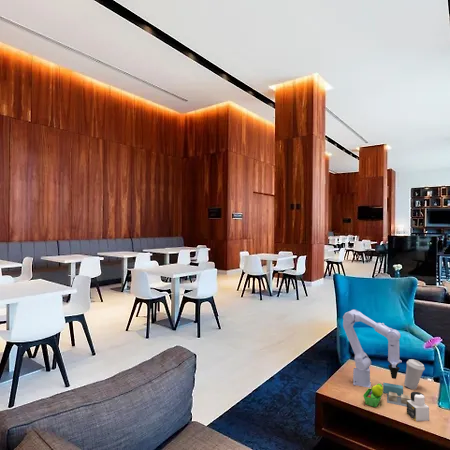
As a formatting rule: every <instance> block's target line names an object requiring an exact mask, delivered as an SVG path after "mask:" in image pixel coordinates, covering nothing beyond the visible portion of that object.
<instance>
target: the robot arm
mask: <svg viewBox="0 0 450 450" xmlns="http://www.w3.org/2000/svg"><path fill="white" fill-rule="evenodd" d="M342 319H343V321H342V327H343V330H344V331H345V335H346V337H347V339H348V341H349V343H350V346H351V348H352V351H353V354H354V362H355V365H354V366H355V367H353V372H352V376H353V378H352V380H353V381H352V383H353V386H359V387H364V388H367V389H368V388H370V389H371V385H372V382H371V368H370V367H371V365H372V361H371V359H370V358H369V356H368V354H367V353H366V352H365V351H364V349H363V348H362V345H361V342H360V340H359V338H358V335H357V333H356V331H355V328H354V325H355V323H358V322H361V323H363V324H365V325H367V326H370V327H372V328H373V329H374V331H375V332H377V333H378V334H380V335H382V336H384V337H385V338H386V339H387V342H388V343H387V350H388V351H387V352H388V353H387V357H388V358H387V362H388V363H389V364H388V366H387V367H388V369H389V372H390V376H391V379H393V380H397V376H398V372H399V371H400V368H401V367H399V364H400V363H402V360H401V359H400V339H401V335H402V334H401V333H400V331H399V330H397V329H394V328H392V327H389V326H387V325H385V323H384V322H382V323H381V322H376V321H374V320H373V319H371V318H370V317H368V316H366V315H365V314H363V313H362V312H361V311H359V310H357V309H351V310H349V311H347V312H345V313H344V314H343V316H342Z"/></svg>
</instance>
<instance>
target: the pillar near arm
mask: <svg viewBox="0 0 450 450" xmlns="http://www.w3.org/2000/svg"><path fill="white" fill-rule="evenodd" d="M388 395H389V401H394V402H397V393H393V392H389V394H388Z"/></svg>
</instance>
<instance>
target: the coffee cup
mask: <svg viewBox="0 0 450 450" xmlns="http://www.w3.org/2000/svg"><path fill="white" fill-rule="evenodd" d="M425 369H426V368H425V365H424V364H423V363H422V362H420V361H419V360H416V359H412V358H411V359H408V360H407V361H406V370H405V376H404V377H405V378H404V382H403V386H405V387H406V388H408V389H410V390H417V388H418V386H419V383H420V380H421V378H422V375H423V372H424V371H425Z"/></svg>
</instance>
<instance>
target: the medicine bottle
mask: <svg viewBox="0 0 450 450" xmlns="http://www.w3.org/2000/svg"><path fill="white" fill-rule="evenodd" d="M425 398H426V397H425V395H424V394H423V393H421V392H419V391H411V392H410V399H411V400H407V407H406V414H407V416H409V417H410V418H411V419H413V421H415V422H423V421H424V422H427V421H430V407H429V405H427V404H426V402H425Z"/></svg>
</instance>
